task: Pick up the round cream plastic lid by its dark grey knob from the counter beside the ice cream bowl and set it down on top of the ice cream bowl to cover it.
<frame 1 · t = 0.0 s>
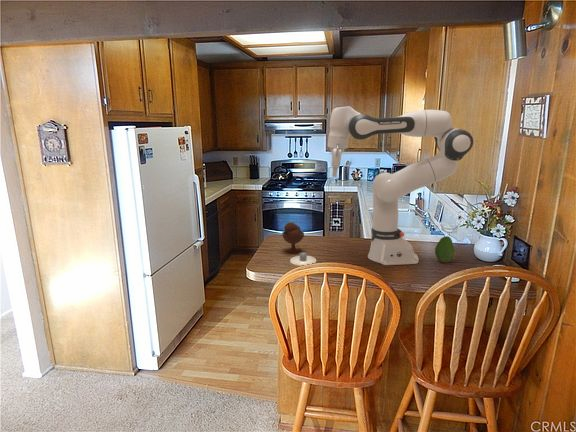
hand: (334, 175, 165), 39 cm above the counter, tool pointing down, fingers open, 8 cm apart
ice cream bowl: (293, 251, 183), on the counter
lid: (303, 261, 170), on the counter
avocado: (443, 262, 166), on the counter
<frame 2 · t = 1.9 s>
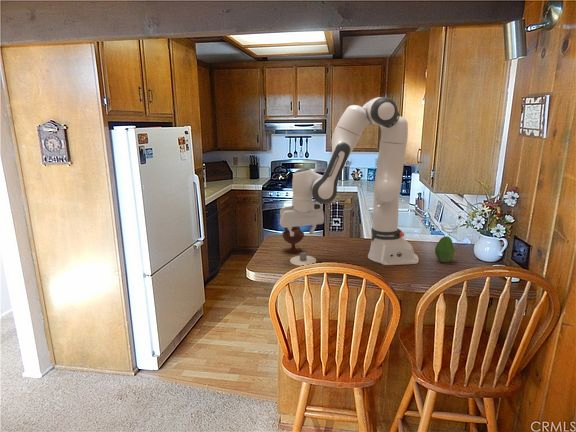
hand: (301, 234, 167), 13 cm above the counter, tool pointing down, fingers open, 8 cm apart
nothing on the counter moved.
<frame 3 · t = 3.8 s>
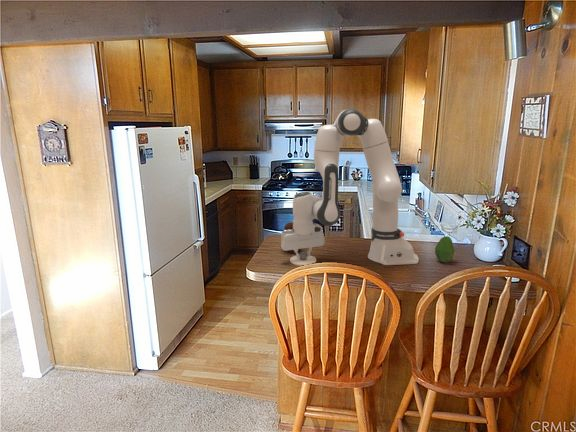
hand: (303, 256, 170), 2 cm above the counter, tool pointing down, fingers closed on lid, 3 cm apart
lid: (303, 260, 170), on the counter, touching gripper
everything else where it was.
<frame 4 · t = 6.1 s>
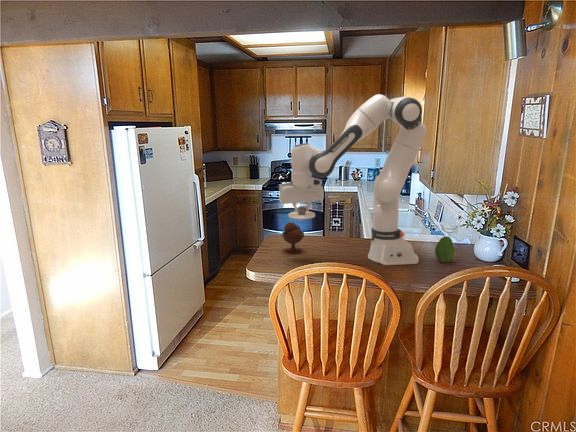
hand: (301, 211, 165), 23 cm above the counter, tool pointing down, fingers closed on lid, 3 cm apart
lid: (301, 215, 166), point 21 cm above the counter, touching gripper
everything else where it was.
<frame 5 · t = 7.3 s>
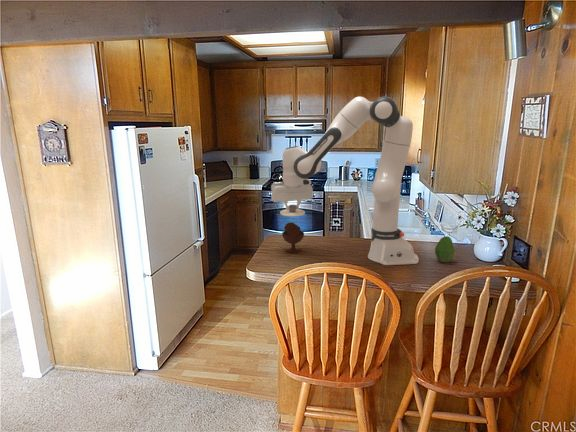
hand: (292, 209, 178), 21 cm above the counter, tool pointing down, fingers closed on lid, 3 cm apart
lid: (292, 213, 178), point 19 cm above the counter, touching gripper
everything else where it was.
when the fingers open (19 cm above the counter, at t = 8.3 s): lid drops 2 cm, resting on ice cream bowl.
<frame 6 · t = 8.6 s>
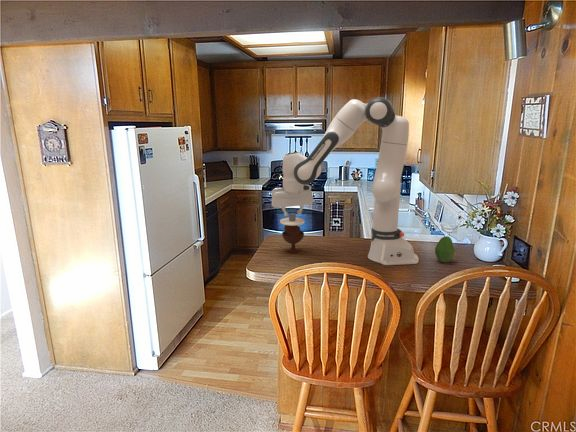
hand: (292, 215, 179), 19 cm above the counter, tool pointing down, fingers open, 5 cm apart
ice cream bowl: (293, 251, 183), on the counter, touching lid
lid: (292, 222, 179), point 15 cm above the counter, touching ice cream bowl
everything else where it was.
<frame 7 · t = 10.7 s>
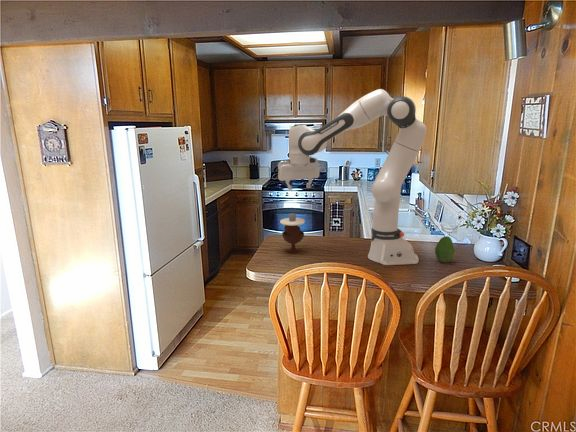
hand: (299, 188, 178), 31 cm above the counter, tool pointing down, fingers open, 8 cm apart
nothing on the counter moved.
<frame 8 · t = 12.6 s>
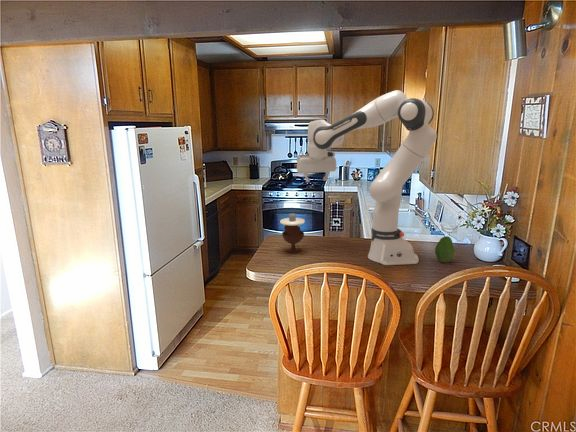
hand: (316, 181, 185), 33 cm above the counter, tool pointing down, fingers open, 8 cm apart
nothing on the counter moved.
at the end: lid 0.2 cm from the ice cream bowl (horizontally); lid point 15.0 cm above the counter; ice cream bowl tilted 0° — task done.
